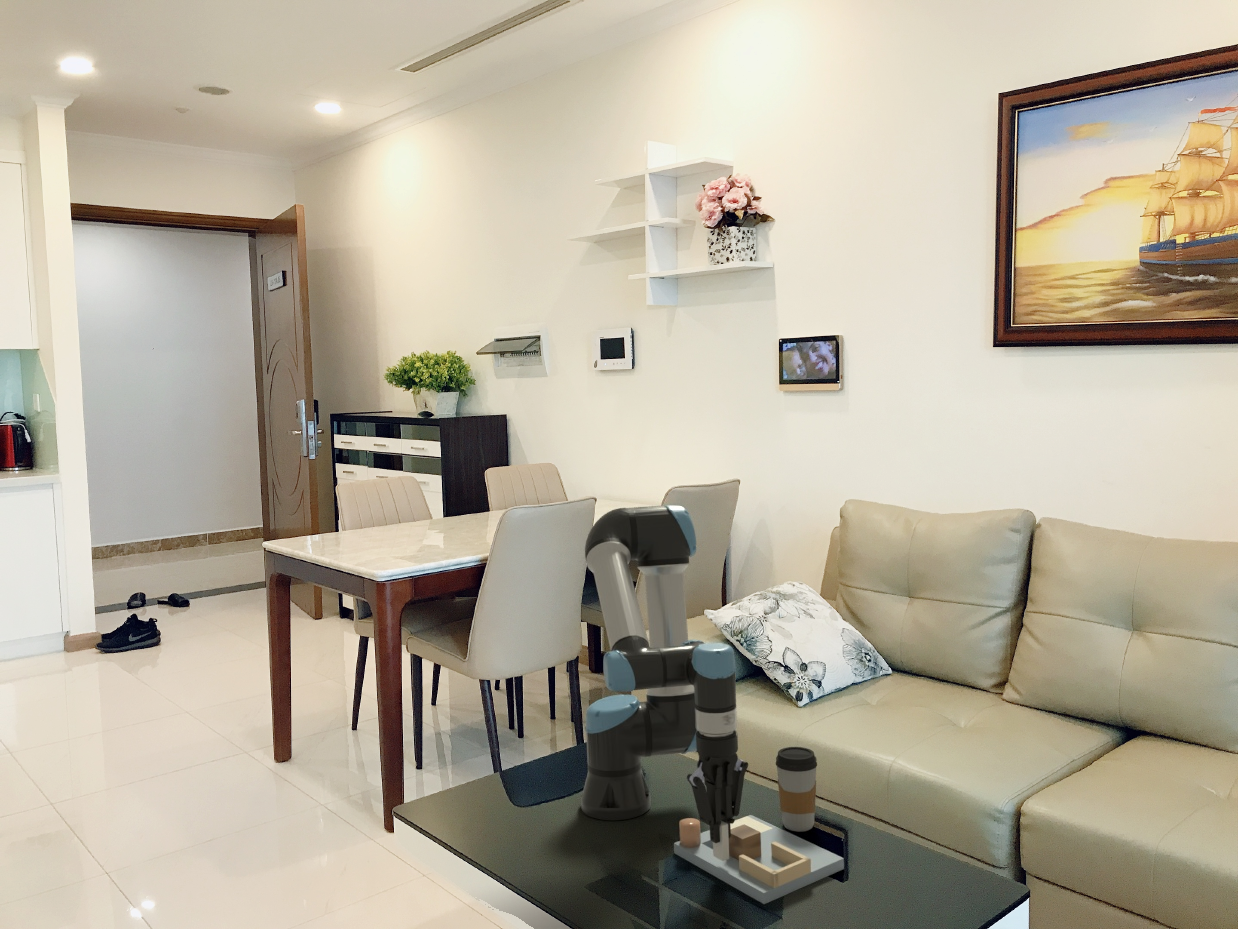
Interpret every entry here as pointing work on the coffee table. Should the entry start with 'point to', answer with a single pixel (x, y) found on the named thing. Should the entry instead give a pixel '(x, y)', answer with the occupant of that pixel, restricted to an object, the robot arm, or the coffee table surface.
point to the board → (766, 862)
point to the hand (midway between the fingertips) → (721, 857)
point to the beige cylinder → (690, 832)
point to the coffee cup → (797, 787)
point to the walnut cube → (745, 842)
